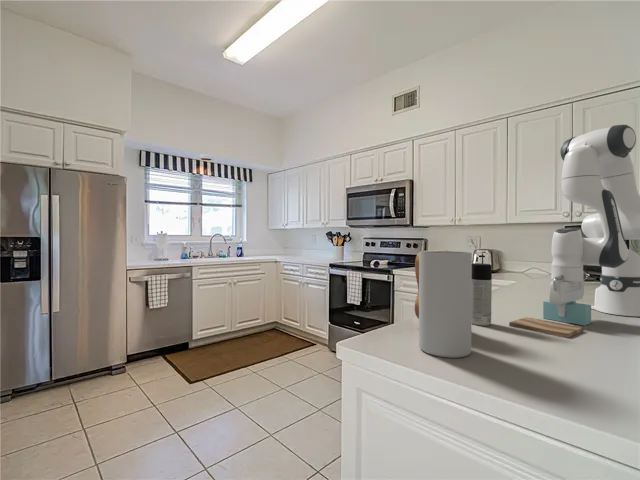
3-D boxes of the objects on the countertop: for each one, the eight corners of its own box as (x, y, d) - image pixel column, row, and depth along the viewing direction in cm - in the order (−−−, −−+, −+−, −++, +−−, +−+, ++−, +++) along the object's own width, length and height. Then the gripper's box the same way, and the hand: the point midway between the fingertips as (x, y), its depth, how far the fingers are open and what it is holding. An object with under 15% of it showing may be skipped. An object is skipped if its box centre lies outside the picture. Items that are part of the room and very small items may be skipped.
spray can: (486, 321, 114) (486, 263, 114) (495, 326, 107) (495, 264, 107) (466, 320, 115) (466, 263, 114) (473, 326, 108) (473, 264, 108)
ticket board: (526, 320, 115) (526, 316, 115) (582, 331, 102) (582, 326, 102) (509, 325, 108) (509, 321, 108) (567, 338, 95) (567, 333, 95)
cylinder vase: (408, 345, 88) (409, 251, 88) (446, 340, 93) (446, 250, 92) (442, 361, 76) (442, 253, 76) (482, 355, 81) (483, 252, 81)
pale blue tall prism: (550, 315, 121) (550, 299, 121) (591, 322, 112) (591, 305, 112) (543, 318, 118) (543, 301, 118) (584, 325, 108) (584, 307, 108)
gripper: (565, 277, 106) (565, 320, 106) (588, 273, 118) (588, 312, 118) (543, 275, 111) (543, 317, 111) (567, 272, 123) (567, 309, 123)
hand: (566, 314), depth 115 cm, fingers closed on pale blue tall prism, 6 cm apart
